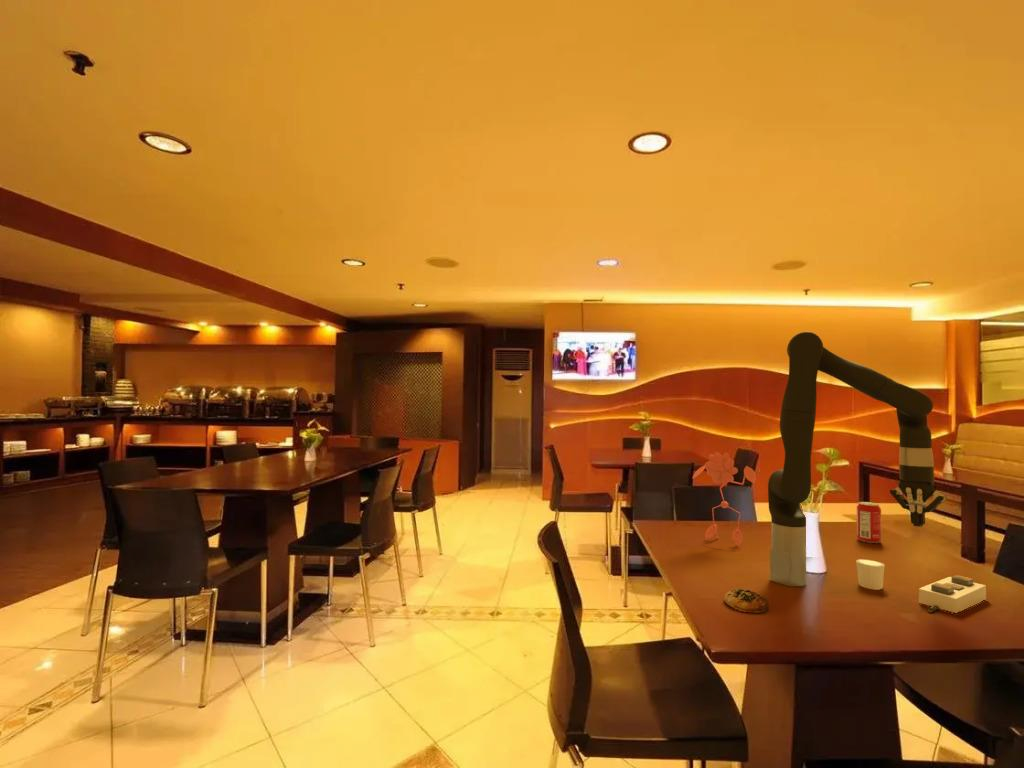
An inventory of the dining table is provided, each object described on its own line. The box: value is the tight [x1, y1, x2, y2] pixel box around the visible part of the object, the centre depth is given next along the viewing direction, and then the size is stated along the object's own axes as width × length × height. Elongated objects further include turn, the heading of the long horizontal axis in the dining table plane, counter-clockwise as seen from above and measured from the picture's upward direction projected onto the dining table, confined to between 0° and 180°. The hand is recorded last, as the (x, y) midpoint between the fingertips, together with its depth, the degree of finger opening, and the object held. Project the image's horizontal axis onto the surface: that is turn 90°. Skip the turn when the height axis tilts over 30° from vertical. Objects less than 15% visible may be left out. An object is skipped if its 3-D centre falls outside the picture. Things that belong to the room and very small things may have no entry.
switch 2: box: [951, 574, 974, 587], centre depth 141 cm, size 4×4×2 cm
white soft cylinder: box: [855, 558, 886, 591], centre depth 149 cm, size 7×7×7 cm
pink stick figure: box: [691, 451, 757, 547], centre depth 191 cm, size 15×26×35 cm, turn 40°
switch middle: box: [944, 583, 964, 591], centre depth 138 cm, size 4×4×2 cm
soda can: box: [856, 501, 882, 544], centre depth 199 cm, size 8×8×15 cm
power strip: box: [918, 576, 987, 613], centre depth 137 cm, size 24×8×4 cm, turn 120°
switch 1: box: [931, 583, 954, 595], centre depth 135 cm, size 4×4×2 cm
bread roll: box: [723, 588, 770, 614], centre depth 133 cm, size 11×11×5 cm
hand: (918, 526), depth 140 cm, fingers closed
